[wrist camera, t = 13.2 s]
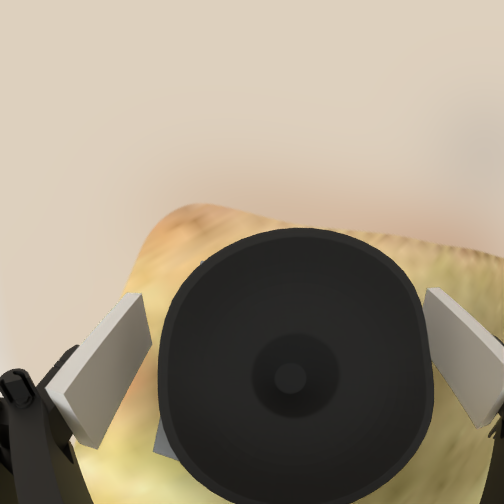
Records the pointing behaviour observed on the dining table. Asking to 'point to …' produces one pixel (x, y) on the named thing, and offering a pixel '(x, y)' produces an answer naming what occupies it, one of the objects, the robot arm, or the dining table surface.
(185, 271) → the dining table surface
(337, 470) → the pen holder
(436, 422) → the dining table surface
